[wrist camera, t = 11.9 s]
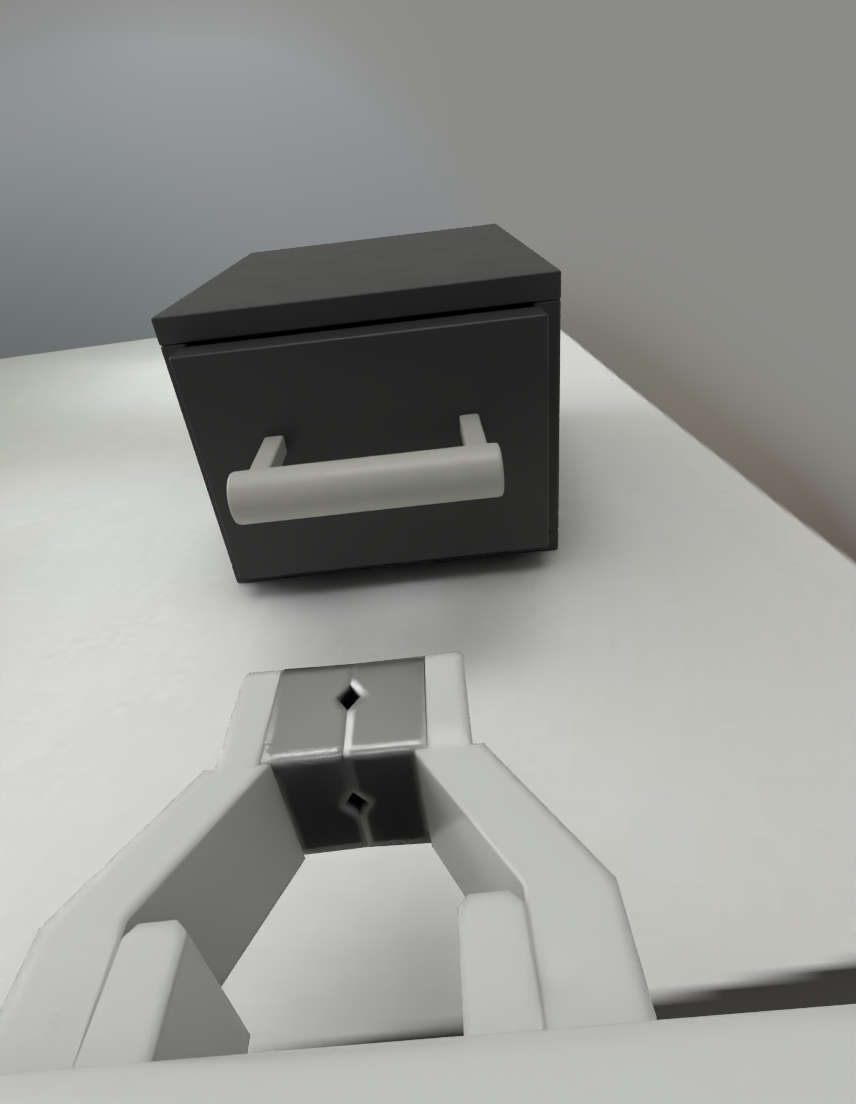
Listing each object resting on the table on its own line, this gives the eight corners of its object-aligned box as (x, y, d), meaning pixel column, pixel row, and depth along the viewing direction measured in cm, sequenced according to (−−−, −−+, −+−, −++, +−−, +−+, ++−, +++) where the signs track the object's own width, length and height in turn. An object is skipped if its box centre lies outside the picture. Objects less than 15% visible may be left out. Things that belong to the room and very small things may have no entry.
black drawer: (577, 623, 18) (586, 353, 14) (208, 662, 18) (109, 408, 14) (497, 412, 33) (490, 251, 29) (294, 435, 33) (258, 279, 29)
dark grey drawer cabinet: (558, 549, 23) (561, 270, 18) (237, 583, 24) (150, 318, 18) (503, 412, 36) (496, 223, 30) (293, 436, 36) (250, 252, 31)
